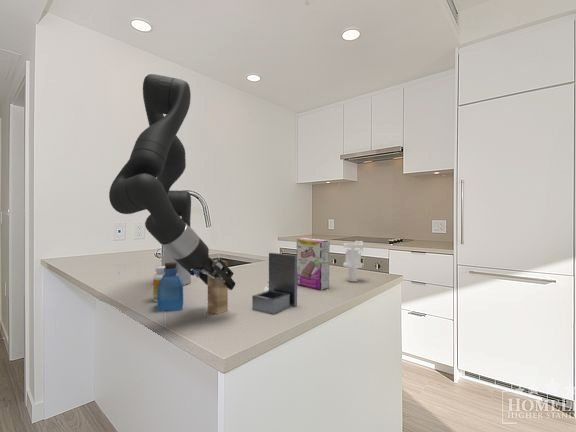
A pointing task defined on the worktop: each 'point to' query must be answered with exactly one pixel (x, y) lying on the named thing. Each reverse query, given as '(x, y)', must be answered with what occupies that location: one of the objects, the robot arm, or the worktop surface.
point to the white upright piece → (353, 259)
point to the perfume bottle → (170, 289)
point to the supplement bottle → (157, 280)
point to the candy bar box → (313, 263)
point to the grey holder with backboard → (279, 285)
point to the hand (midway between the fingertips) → (221, 284)
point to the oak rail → (217, 294)
